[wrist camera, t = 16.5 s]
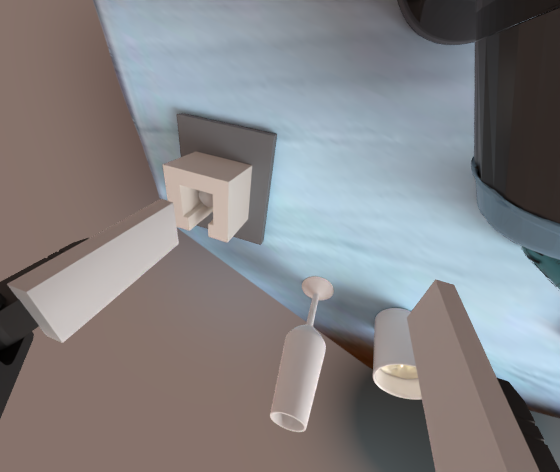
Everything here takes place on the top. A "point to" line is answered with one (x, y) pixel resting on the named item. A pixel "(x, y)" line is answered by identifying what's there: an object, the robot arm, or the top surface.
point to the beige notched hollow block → (212, 179)
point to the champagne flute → (300, 364)
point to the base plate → (236, 147)
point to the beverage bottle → (545, 265)
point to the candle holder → (395, 355)
